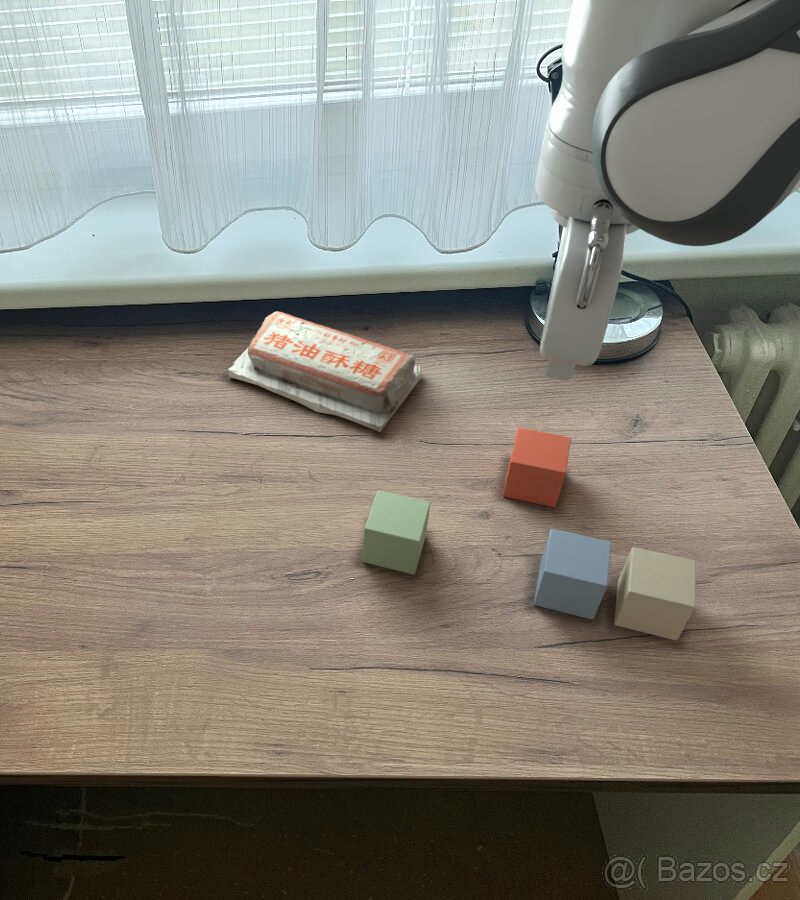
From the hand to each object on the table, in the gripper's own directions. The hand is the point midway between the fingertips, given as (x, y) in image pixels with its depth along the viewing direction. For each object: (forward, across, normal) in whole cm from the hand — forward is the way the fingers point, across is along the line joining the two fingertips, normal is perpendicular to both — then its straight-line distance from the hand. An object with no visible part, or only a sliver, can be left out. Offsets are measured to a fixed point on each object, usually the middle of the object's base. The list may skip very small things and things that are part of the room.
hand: (565, 335), depth 67 cm
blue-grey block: (+17, -11, -4) cm, 21 cm away
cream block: (+17, -11, -10) cm, 23 cm away
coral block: (+17, 0, 0) cm, 17 cm away
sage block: (+17, -11, +10) cm, 22 cm away
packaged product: (+17, +9, +22) cm, 29 cm away
